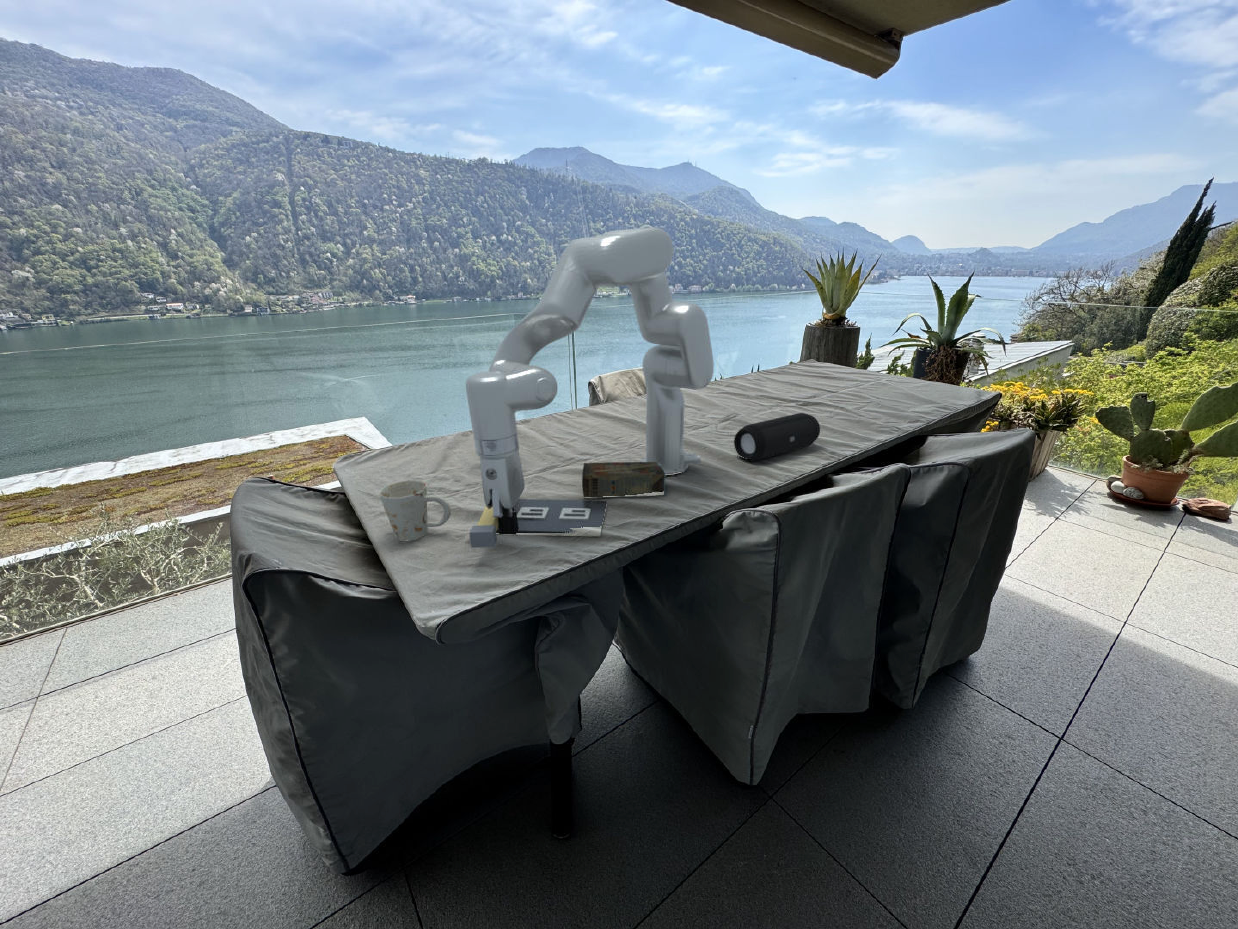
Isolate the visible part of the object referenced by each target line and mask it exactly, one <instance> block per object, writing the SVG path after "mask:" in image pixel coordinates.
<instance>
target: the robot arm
mask: <svg viewBox="0 0 1238 929" xmlns="http://www.w3.org/2000/svg"><path fill="white" fill-rule="evenodd" d="M673 258H674V244H673V241H672V238H671V236H670V235H669V233H668V232H667V231H666V230H664V229H662V228H660V227H644V228H643V227H642V228H632V229H631V228H628V229H627V228H625V229H617V230H611V231H610V230H609V231H607V232H604V233H602V234H601V235H599V236H591V237H581V238H577V239H574V240H572V241H571V242H569V244H567V246H565V248H564V251H563V253H562V254H561V256H560V259H559V261H558V262H557V265H556V267H555V269H554V271H553V272H552V275H551V278H550V279H549V281H548V283H547V286H546V287H545V289H544V291H543V293H542V296H541V298H540V300H539V302H538V304H537V305H536V306H535V307H534V308H533V309H532V310H531V311H529V313H527V314H526V315H525V316H524V317H523V318H522V319H521V320H520V321H519V322H518V323H517V324H516V325H515V326H514V327H513V328H511V329H510V331H509V332H508V333H507V335H506V336H505V337H504V338H503V340H502V341H501V343H500V345H499V346H498V349H497V350H496V353H495V355H494V357H493V359H492V361H491V363H490V365H489V368H488V371H484V372H483V371H482V372H481V371H480V372H477V373H474V374H471V375H470V376H469V377H467V379H466V381H465V392H466V398H467V405H468V410H469V417H470V423H471V428H472V434H473V435H472V436H473V442H474V448H475V454H476V456H478V457H479V458H480V475H481V485H482V491H483V493H482V494H483V498H484V504H485V507H487V508H488V509H491V508H492V507H493V517H494V518H498V522H499V529H500V533H501V534H516V533H517V531H518V529H519V528H518V520H517V513H516V512H513V511H516V503H517V501H518V499H521V498H520V497H521V495H522V493H523V492H524V490H525V478H524V472H523V467H522V462H521V456H520V452H519V450H520V444H519V443H520V442H519V436H518V427H517V419H516V412H520V411H531V410H540V409H542V408H545V407H547V406H548V405H550V404H551V403H552V402H553V401H554V400H555V398H556V396H557V394H558V389H559V388H558V382H557V380H556V377H555V376H554V374H553V373H552V372H551V371H549V370H548V369H546V368H544V367H540V366H538V365H532V364H531V365H530V363H531V361H532V360H533V359H534V357H535V356H536V355H537V354H538V353H539V352H540V351H542V349H544V348H545V347H546V346H548V345H550V344H552V343H554V342H556V341H559V340H561V339H563V338H565V337H567V336H569V335H571V334H573V333H575V332H576V331H578V330H579V328H580V327H581V325H582V323H583V320H584V319H585V316H586V314H587V312H588V310H589V308H590V305H591V304H592V301H593V299H594V297H595V296H596V293H597V291H598V289H599V288H602V287H603V288H606V287H607V288H619V287H620V288H621V287H626V286H627V288H628V290H629V292H630V295H631V299H632V303H633V307H634V311H635V315H636V320H637V323H638V327H639V331H640V334H641V337H642V338H643V340H644V341H646V342H647V343H650V344H652V345H654V346H652V347H649V348H648V350H647V351H646V352H645V353H644V356H643V359H642V373H643V378H644V384H645V390H646V392H645V393H646V425H645V426H646V427H645V428H646V430H645V432H646V434H645V438H646V439H645V440H646V442H645V443H646V444H645V446H646V448H645V449H646V450H645V454H646V455H645V457H644V458H643V459H642V460H640V462H661V463H662V466H663V470H664V472H665V474H673V473H678V472H683V471H684V470H686V469H687V468H688V469H689V463H694V464H701V455H696V453H695V452H686V451H685V448H684V431H685V430H684V429H685V407H686V406H685V405H686V404H685V403H686V402H685V398H684V394H683V392H682V391H683V390H681V388H682V389H687V390H702V389H705V388H706V387H707V386H709V384H710V383H711V381H712V379H713V376H714V357H713V356H714V355H713V349H712V342H711V336H710V328H709V323H708V319H707V316H706V313H705V312H704V310H703V309H702V307H701V306H699V305H698V304H697V303H694V302H686V301H676V300H674V298H673V296H672V293H671V289H670V285H669V281H668V278H667V274H666V271H667V270H668V268H669V267H670V265H671V263H672V261H673ZM688 469H687V470H688ZM687 470H686V471H687ZM683 473H684V472H683Z"/></svg>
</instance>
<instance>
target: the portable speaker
mask: <svg viewBox="0 0 1238 929" xmlns="http://www.w3.org/2000/svg"><path fill="white" fill-rule="evenodd" d="M820 433H821V426H820V423H819V421H818V419H817V418H816V417H815V416H813V415H811V414H808V413H804V412H799V413H794V414H790V415H785V416H781V417H777V418H773V419H772V418H771V419H768V420H764V421H760V422H755V423H752V424H751V423H750V424H747V425H744V426H743V427H742V428H740V429H739V430H738V431H737V432H736V433H735V435H734V438H733V439H734V440H733V445H734V446H733V447H734V448H735V451H736V453H737V455H738V456H739V455H740V456H742V457H744V458H747V459H750V460H749V461H751V460H757V461H760V460H763V458H764V459H767V458H770V456H771V457H773V455H774V456H777V454H778V455H781V454H784V453H787V452H788V451H789V452H791V451H796V450H798V449H803V448H807V447H809V446H811V445H812V444H814V442H815V441H816V440H817V439H818V438H819V436H820ZM795 449H796V450H795ZM740 456H739V457H740ZM742 457H741V458H742ZM766 457H767V458H766ZM747 459H746V460H747Z"/></svg>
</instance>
